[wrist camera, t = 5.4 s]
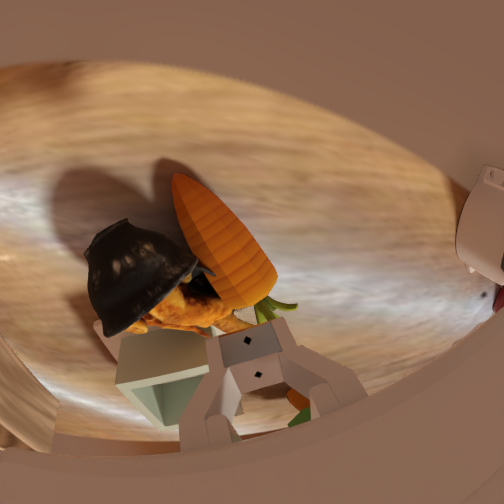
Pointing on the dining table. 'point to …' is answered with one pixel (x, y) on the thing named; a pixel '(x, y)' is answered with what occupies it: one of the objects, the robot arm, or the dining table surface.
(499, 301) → the canister
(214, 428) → the robot arm
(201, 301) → the bowl of food
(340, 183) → the dining table surface
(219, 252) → the carrot
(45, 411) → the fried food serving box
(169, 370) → the open rectangular box
